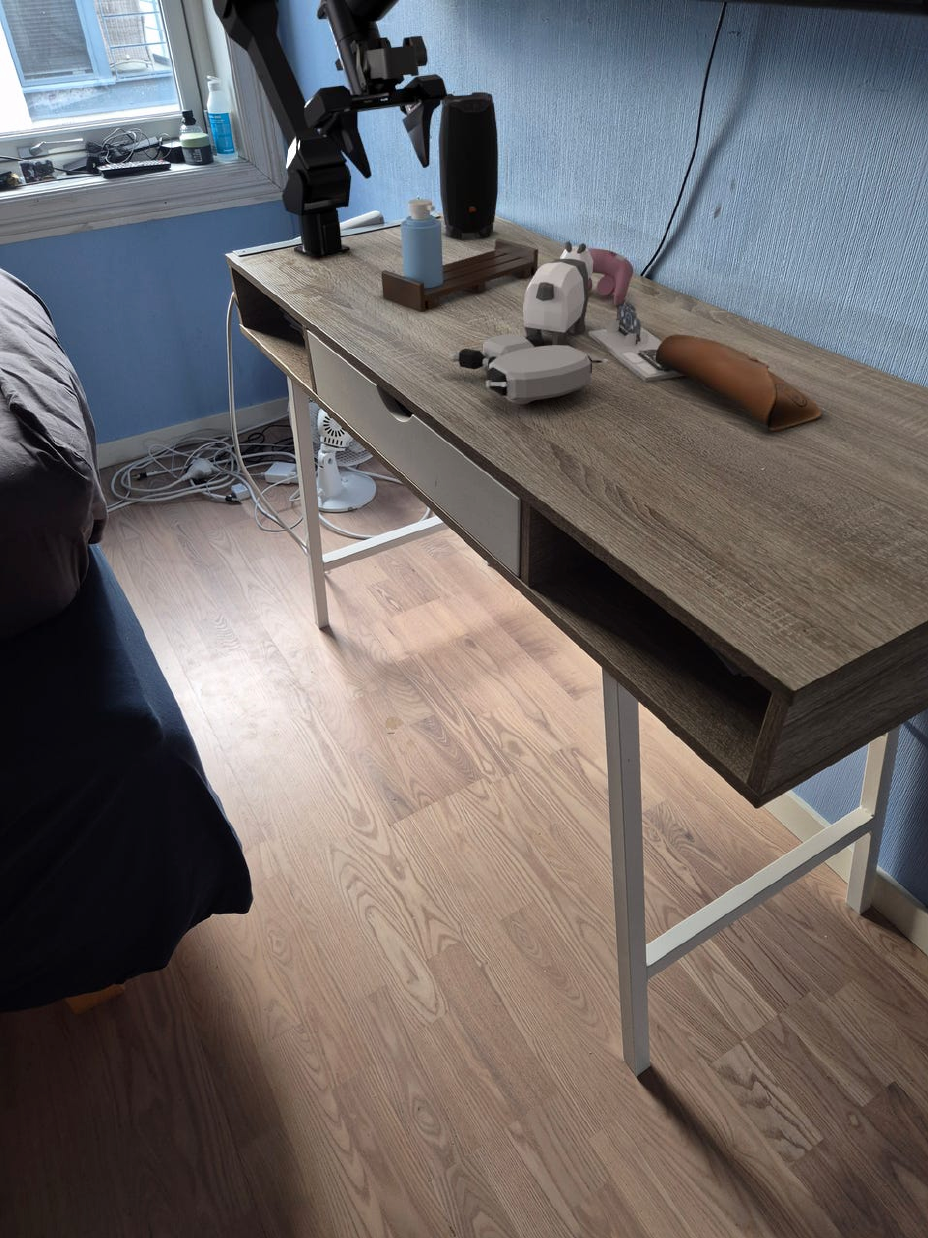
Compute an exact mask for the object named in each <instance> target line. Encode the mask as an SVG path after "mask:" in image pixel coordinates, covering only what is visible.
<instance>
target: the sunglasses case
mask: <svg viewBox="0 0 928 1238" xmlns="http://www.w3.org/2000/svg"><path fill="white" fill-rule="evenodd" d="M661 342H662V343H661V344H660V346H659V347H658V350H657V352H656V361H657V363H658V364H661V365H664V366H666V367H667V368H670V369H672V370H674V371H676V372H678V373H682V374H683V375H684V376H683V377H687V378H689V379H692V380H694V382H696V383H698V384H700V385H701V386H702V387H704V388H706V389H707V390H709V391H711V392H712V393H714V394H717V395H719V396H720V397H721V398H722V399H724V400H725V401H727V402H728V403H729V404H732V405H734V406H736V407H737V408H738V409H740V410H742V411H743V412H745V413H747V414H748V415H750V416H752V417H753V418H754V419H756V420H757V421H759V422H760V423H761V424H764V425H766V427H767V428H768V429H769V430H770V431H771V432H772V433H774V432H778V431H784V430H789V429H792V428H795V427H799V426H802V425H805V424H807V423H809V422H812V421H815V420H817V419H819V418H821V417H822V416H823V414H824V413H823V411H822V410H821V408H819V406H818V405H817V404H816V403H815V402H814V401H813V400H812V399H811V398H809V396H807V395H806V394H804V393H803V392H802V391H801V390H799V389H798V388H796V387H795V386H793V385H792V384H790V383H789V382H788V381H786V380H785V379H783V378H781V377H780V376H778V375H777V374H775V373H773V372H772V371H770V370H769V368H770V365H769V364H766V363H765V362H762V361H760V360H759V358H758V357H754V356H751V355H749V354H748V353H745V352H743V351H740V350H738V349H736V348H734V347H731V346H729V345H726V344H724V343H721V342H717V341H716V340H711V339H708V338H704V337H700V336H695V335H689V334H672V335H668V336H666V337H665V338H664V339H663V340H662V341H661Z"/></svg>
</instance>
